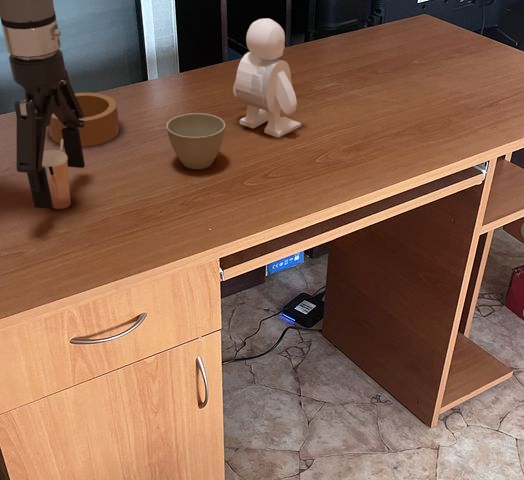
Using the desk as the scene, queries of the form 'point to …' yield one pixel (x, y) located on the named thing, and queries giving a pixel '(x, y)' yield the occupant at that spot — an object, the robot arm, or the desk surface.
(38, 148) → the robot arm
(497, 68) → the desk surface
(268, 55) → the toy robot
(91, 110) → the tape
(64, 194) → the milkshake
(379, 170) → the desk surface
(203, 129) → the flower pot
